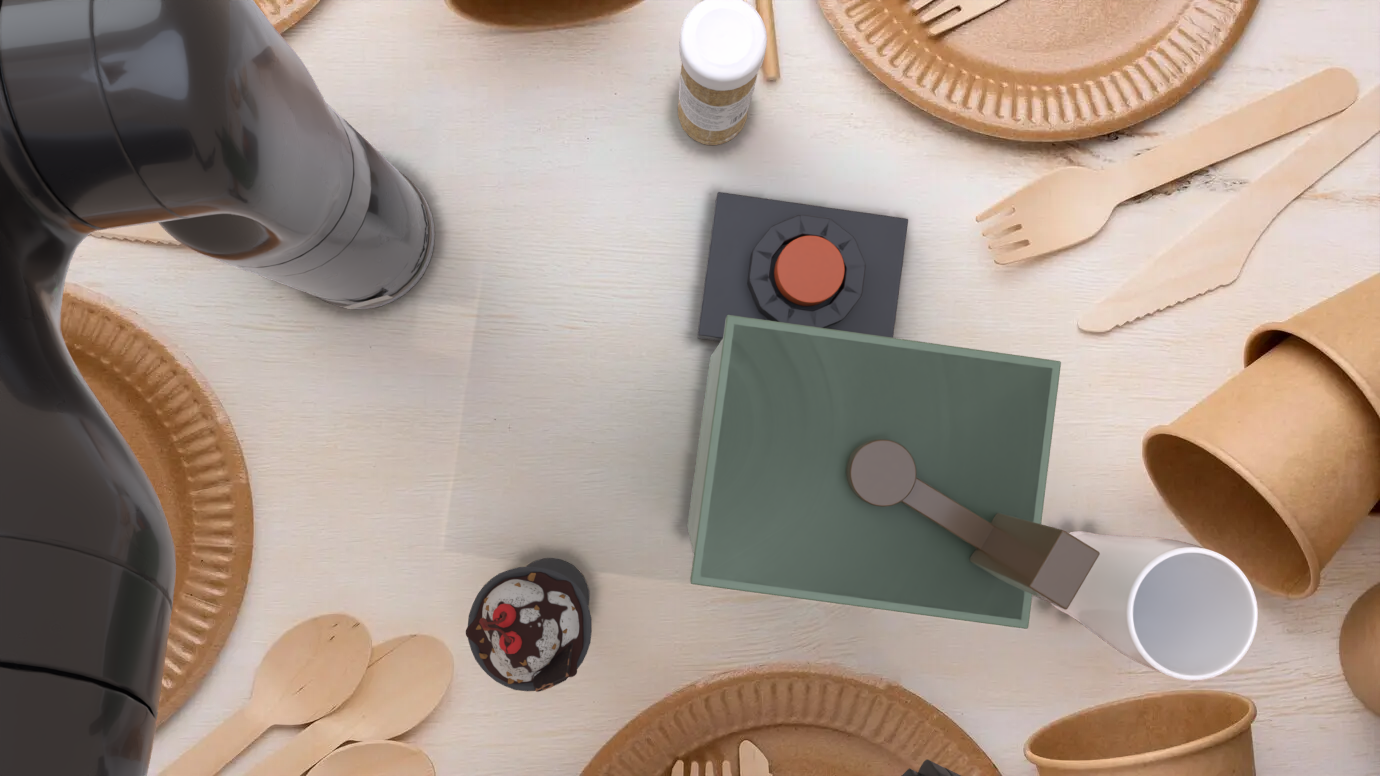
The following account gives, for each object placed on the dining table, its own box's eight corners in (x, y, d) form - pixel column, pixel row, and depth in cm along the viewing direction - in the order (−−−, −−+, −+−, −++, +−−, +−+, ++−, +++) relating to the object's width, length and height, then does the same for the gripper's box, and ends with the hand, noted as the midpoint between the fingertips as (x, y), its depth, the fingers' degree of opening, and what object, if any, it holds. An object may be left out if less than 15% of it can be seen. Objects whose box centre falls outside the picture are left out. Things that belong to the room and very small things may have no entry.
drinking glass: (1054, 644, 67) (1166, 707, 52) (1004, 549, 67) (1102, 585, 52) (1147, 594, 67) (1285, 643, 52) (1097, 500, 67) (1220, 521, 52)
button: (769, 301, 64) (772, 297, 62) (778, 236, 64) (781, 230, 62) (835, 310, 64) (840, 307, 62) (843, 245, 64) (848, 240, 62)
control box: (696, 337, 67) (699, 332, 63) (715, 199, 68) (719, 184, 64) (882, 363, 67) (896, 359, 63) (900, 225, 68) (915, 212, 64)
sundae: (497, 543, 66) (449, 578, 51) (604, 546, 67) (587, 582, 52) (493, 648, 66) (444, 714, 51) (600, 651, 66) (582, 718, 51)
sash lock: (833, 482, 45) (867, 494, 37) (867, 426, 45) (908, 427, 37) (997, 583, 45) (1064, 615, 37) (1031, 527, 45) (1104, 548, 38)
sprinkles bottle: (717, 63, 68) (730, -26, 54) (762, 117, 68) (786, 42, 54) (662, 107, 68) (661, 29, 54) (707, 162, 68) (717, 97, 54)
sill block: (681, 531, 67) (690, 584, 45) (706, 350, 67) (727, 314, 45) (909, 562, 67) (1028, 629, 45) (932, 381, 67) (1062, 361, 45)
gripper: (935, 1382, 35) (1158, 896, 35) (572, 1208, 34) (802, 724, 35) (887, 1210, 42) (1071, 813, 43) (588, 1067, 42) (777, 671, 43)
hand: (949, 774), depth 39 cm, fingers closed
